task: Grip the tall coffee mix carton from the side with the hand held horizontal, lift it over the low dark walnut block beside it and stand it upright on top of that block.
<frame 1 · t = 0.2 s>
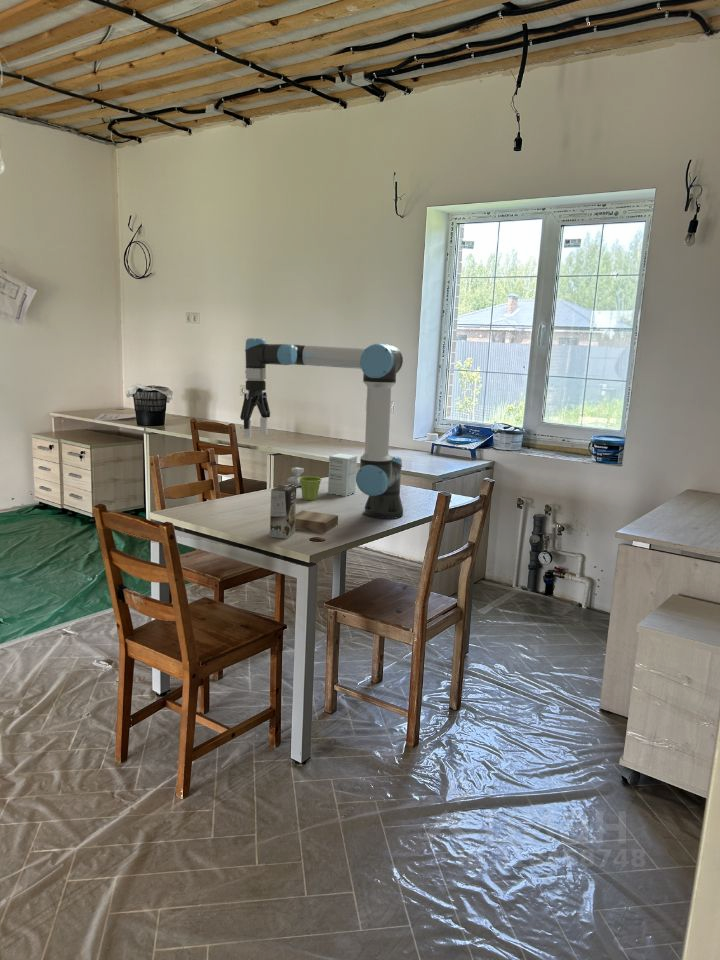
hand: (255, 435, 258), 28 cm above the table, tool pointing down, fingers open, 13 cm apart
supplement box: (341, 494, 294), on the table
plant pot: (309, 499, 281), on the table
walnut riser block: (313, 527, 239), on the table
coffee box: (282, 535, 227), on the table
stamp: (297, 486, 305), on the table
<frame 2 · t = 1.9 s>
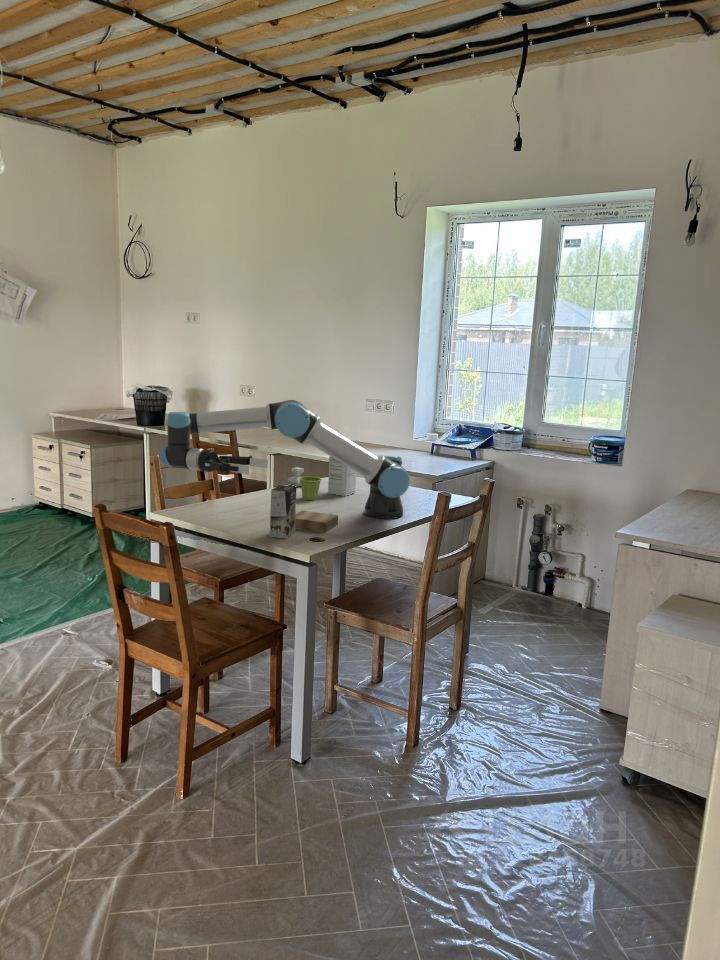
hand: (258, 466, 225), 22 cm above the table, tool horizontal, fingers open, 13 cm apart
nothing on the table moved.
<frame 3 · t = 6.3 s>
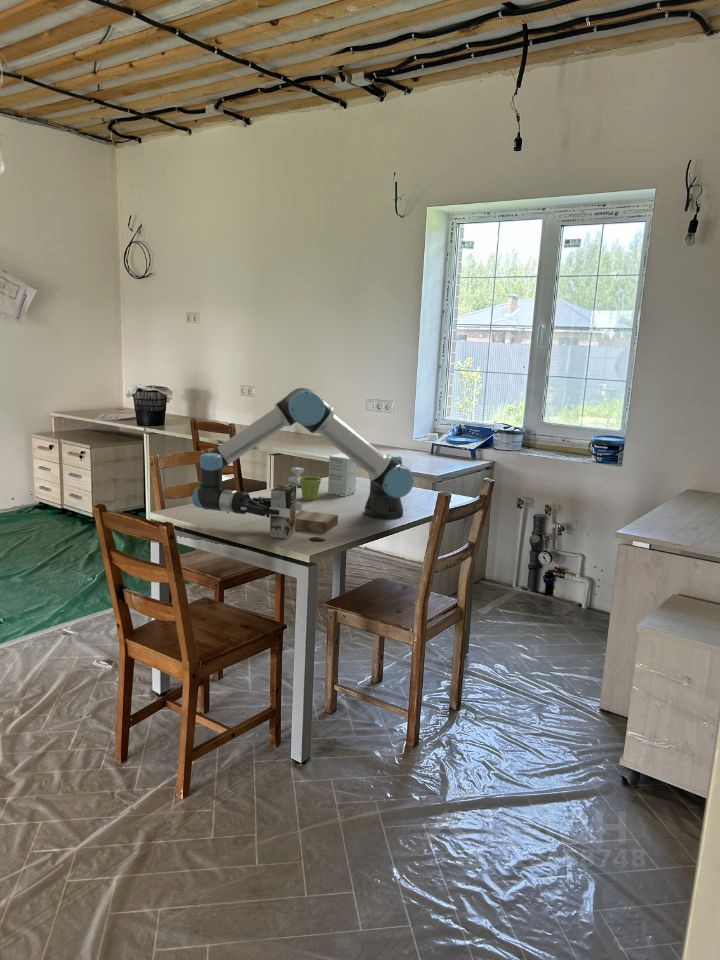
hand: (295, 510, 223), 9 cm above the table, tool horizontal, fingers closed on coffee box, 9 cm apart
coffee box: (282, 535, 227), on the table, touching gripper
everything else where it was.
when the fingers open (14 cm above the table, at t = 11.2 s): coffee box drops 2 cm, point 3 cm above the table.
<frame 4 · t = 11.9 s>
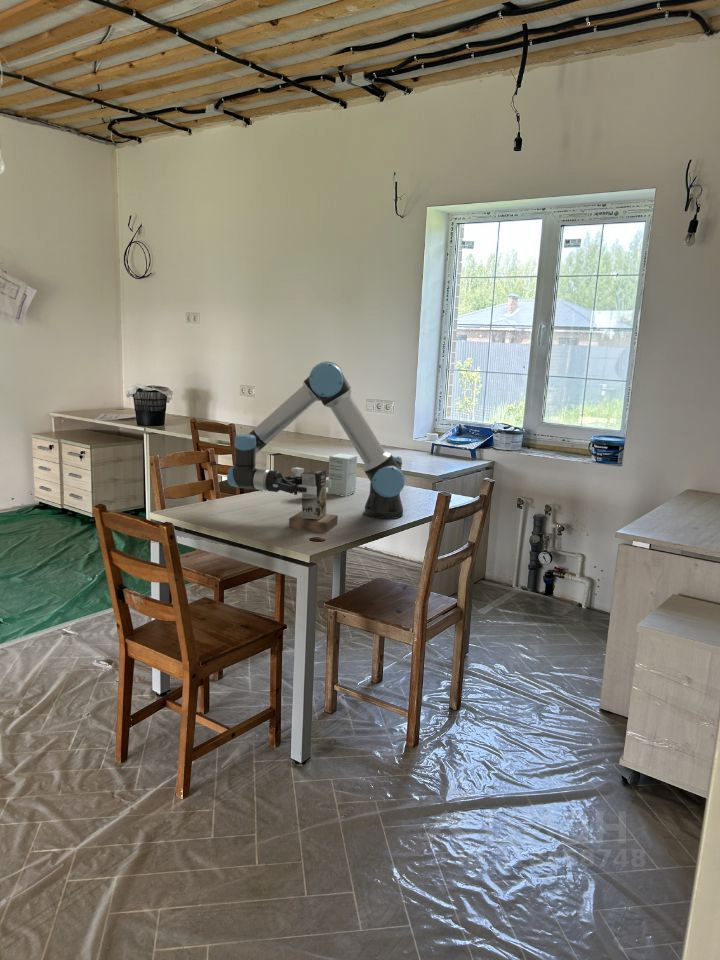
hand: (323, 487, 235), 14 cm above the table, tool horizontal, fingers open, 13 cm apart
coffee box: (314, 517, 238), point 3 cm above the table
everything else where it was.
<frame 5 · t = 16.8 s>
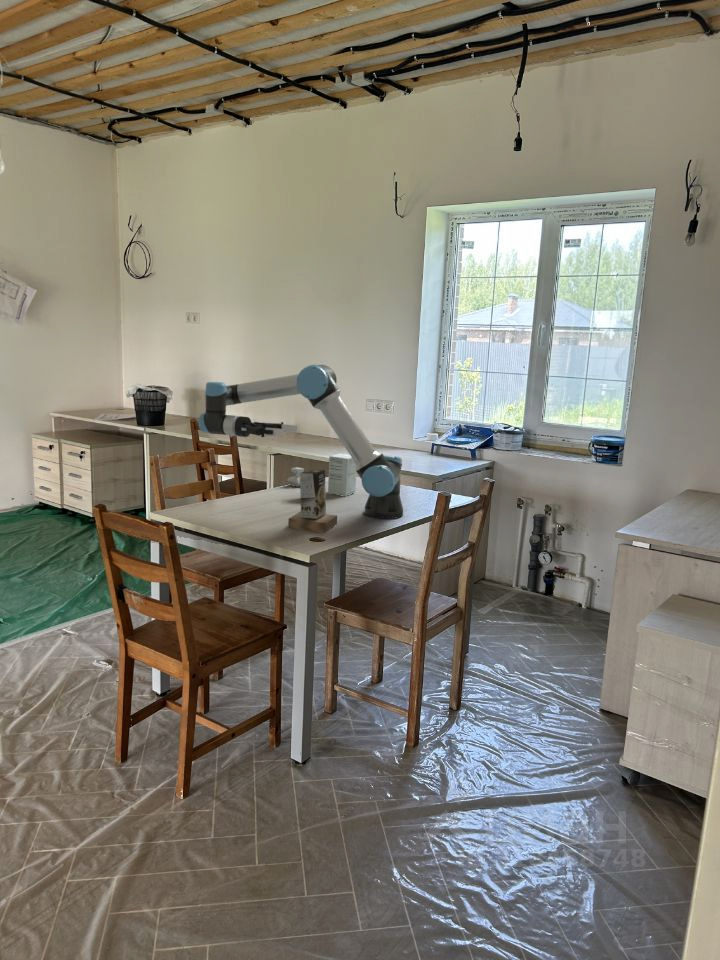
hand: (290, 431, 244), 32 cm above the table, tool horizontal, fingers open, 13 cm apart
walnut riser block: (312, 527, 239), on the table, touching coffee box
coffee box: (313, 516, 239), point 3 cm above the table, touching walnut riser block
everything else where it was.
at the end: coffee box inside the target area on the walnut riser block (0.7 cm from its centre), point 4.0 cm above the walnut riser block's base; coffee box tilted 4°; the gripper is holding nothing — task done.
